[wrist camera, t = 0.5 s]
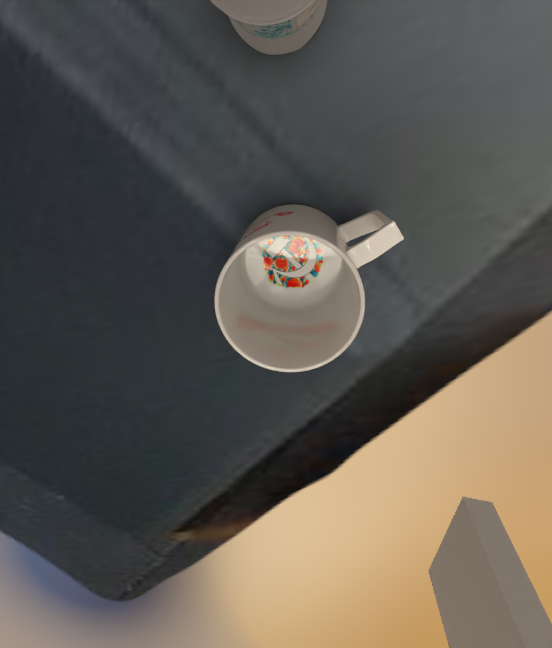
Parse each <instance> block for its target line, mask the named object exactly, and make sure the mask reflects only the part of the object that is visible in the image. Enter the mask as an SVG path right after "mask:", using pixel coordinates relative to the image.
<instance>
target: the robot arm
mask: <svg viewBox="0 0 552 648" xmlns="http://www.w3.org/2000/svg"><path fill="white" fill-rule="evenodd" d="M429 575H430V578H431V582H432V586H433V589H434V593H435V597H436V600H437V604H438V608H439V611H440V615H441V619H442V622H443V626H444V630H445V633H446V637H447V640H448V644H449V648H552V624H551V622H550V620H549V618H548V616H547V614H546V612H545V610H544V608H543V605H542V604H541V601H540V599H539V597H538V595H537V593H536V591H535V589H534V587H533V585H532V583H531V581H530V579H529V577H528V575H527V573H526V571H525V569H524V567H523V565H522V563H521V561H520V558H519V556H518V554H517V552H516V550H515V548H514V546H513V544H512V542H511V540H510V538H509V536H508V534H507V532H506V530H505V528H504V526H503V524H502V522H501V520H500V518H499V516H498V513H497V511H496V509H495V507H494V505H493V503H492V502H488V501H482V500H477V499H472V498H467V497H462V500H461V502H460V504H459V506H458V508H457V511H456V513H455V515H454V517H453V519H452V521H451V523H450V526H449V528H448V530H447V532H446V534H445V536H444V539H443V541H442V543H441V545H440V547H439V549H438V552H437V554H436V556H435V558H434V560H433V562H432V564H431V567H430V569H429Z"/></svg>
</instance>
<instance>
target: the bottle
mask: <svg viewBox="0 0 552 648" xmlns="http://www.w3.org/2000/svg"><path fill="white" fill-rule="evenodd" d="M210 1H211V2H212V3H213V4H214V5H215V6H216V7H218V8H219V9H220V10H221V11H223V12H224V13H225V14H227V15H228V16H229V19H230V21H231V23H232V25H233V27H234V29H235V30H236V31H237V33H238V34H239V35H240V37H241V38H242V39H243V40H244V41H245V42H246V43H247V44H249V45H250V46H251V47H252V48H254V49H256V50H257V51H259V52H261V53H264V54H268V55H282V54H286V53H290V52H294V51H297V50H299V49H300V48H302V47H303V46H304V45H305V44H306V43H307V42H308V41H309V40H310V39H311V38H312V36H313V35H314V34H315V32H316V31H317V29H318V27H319V26H320V24H321V22H322V19H323V17H324V14H325V10H326V5H327V0H210Z"/></svg>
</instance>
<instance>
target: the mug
mask: <svg viewBox="0 0 552 648" xmlns="http://www.w3.org/2000/svg"><path fill="white" fill-rule="evenodd" d="M375 230H378V231H376V232H375V233H374V234H372V235H371V236H369V237H368V238H366V239H364V240H363V241H361V242H359V243H357V244H355V245H353V246H350V247H349V245H348V241H350V240H352V239H355V238H357V237H360V236H362V235H365V234H368V233H370V232H373V231H375ZM403 239H404V237H403V236H402V234H401V232H400V230H399V229H398V227H397V225H396V223H395V222H394V221H392V220H390V219H389V218H388V217H386V216H385V215H384V214H383V213H381V212H380V211H378V210H376V211H372V212H369V213H367V214H364V215H362V216H360V217H358V218H355V219H353V220H351V221H349V222H346V223H344V224H341V225H337V224H336V222H335V221H333V220H332V219H331V218H330V217H329V216H328V215H326V214H325V213H323V212H321V211H319V210H317V209H315V208H312V207H309V206H304V205H295V204H292V205H282V206H278V207H275V208H272V209H270V210H268V211H266V212H264V213H262V214H261V215H260V216H258V217H257V218H256V219H255V220H254V221H253V222H252V223H251V224H250V225H249V226H248V227H247V229H246V230H245V232H244V233H243V235H242V237H241V238H240V240H239V242H238V244H237V245H236V247H235V249H234V250H233V252H232V254H231V255H230V257H229V259H228V260H227V262H226V264H225V265H224V267H223V269H222V271H221V273H220V275H219V278H218V281H217V284H216V289H215V312H216V317H217V320H218V323H219V326H220V328H221V331H222V332H223V334H224V336H225V338H226V339H227V340H228V342H229V343H230V344H231V346H232V347H233V348H234V349H235V350H236V351H237V352H238V353H239V354H241V355H242V356H243V357H245V358H246V359H248V360H249V361H251V362H253V363H254V364H256V365H259V366H261V367H264V368H267V369H270V370H274V371H280V372H301V371H307V370H311V369H314V368H317V367H320V366H322V365H324V364H327V363H329V362H330V361H332V360H333V359H335V358H336V357H338V356H339V355H340V354H341V353H342V352H343V351H345V350H346V348H347V347H348V346H349V345H350V344H351V342H352V341H353V340H354V338H355V336H356V335H357V333H358V331H359V329H360V326H361V323H362V321H363V316H364V311H365V293H364V288H363V284H362V280H361V277H360V275H359V272H358V268H359V267H360V266H362V265H364V264H366V263H368V262H370V261H372V260H374V259H375V258H377V257H378V256H380V255H381V254H383V253H384V252H386V251H387V250H388V249H390V248H391V247H393V246H394V245H396V244H397V243H399V242H400V241H402V240H403Z"/></svg>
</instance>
